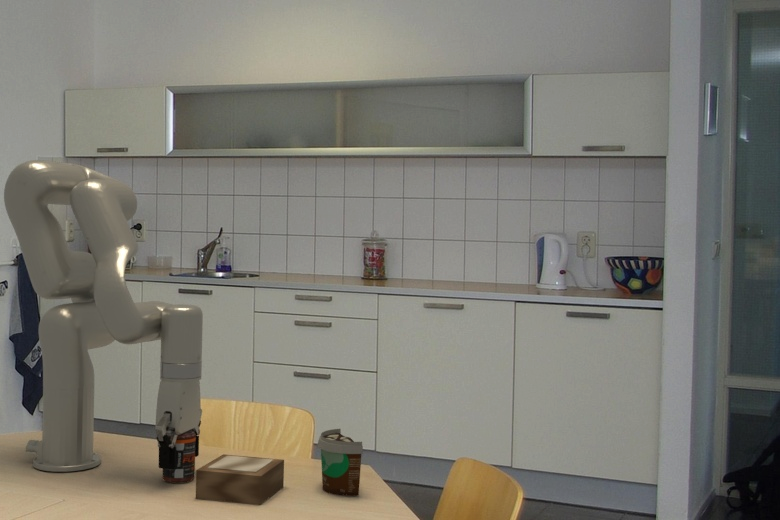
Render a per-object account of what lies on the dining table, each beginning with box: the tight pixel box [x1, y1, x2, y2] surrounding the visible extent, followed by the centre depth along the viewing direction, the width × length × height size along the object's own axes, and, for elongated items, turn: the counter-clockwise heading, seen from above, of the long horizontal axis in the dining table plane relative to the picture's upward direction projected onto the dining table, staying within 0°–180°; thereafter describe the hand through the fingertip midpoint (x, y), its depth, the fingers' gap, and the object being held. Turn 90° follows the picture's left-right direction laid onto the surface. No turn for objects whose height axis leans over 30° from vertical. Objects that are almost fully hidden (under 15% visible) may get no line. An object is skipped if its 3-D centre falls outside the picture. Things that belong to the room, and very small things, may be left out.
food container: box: [316, 428, 364, 497], centre depth 171 cm, size 12×6×10 cm, turn 23°
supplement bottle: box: [162, 429, 196, 484], centre depth 175 cm, size 6×6×11 cm
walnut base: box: [195, 454, 285, 506], centre depth 168 cm, size 12×12×5 cm
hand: (179, 462), depth 175 cm, fingers open, 9 cm apart
